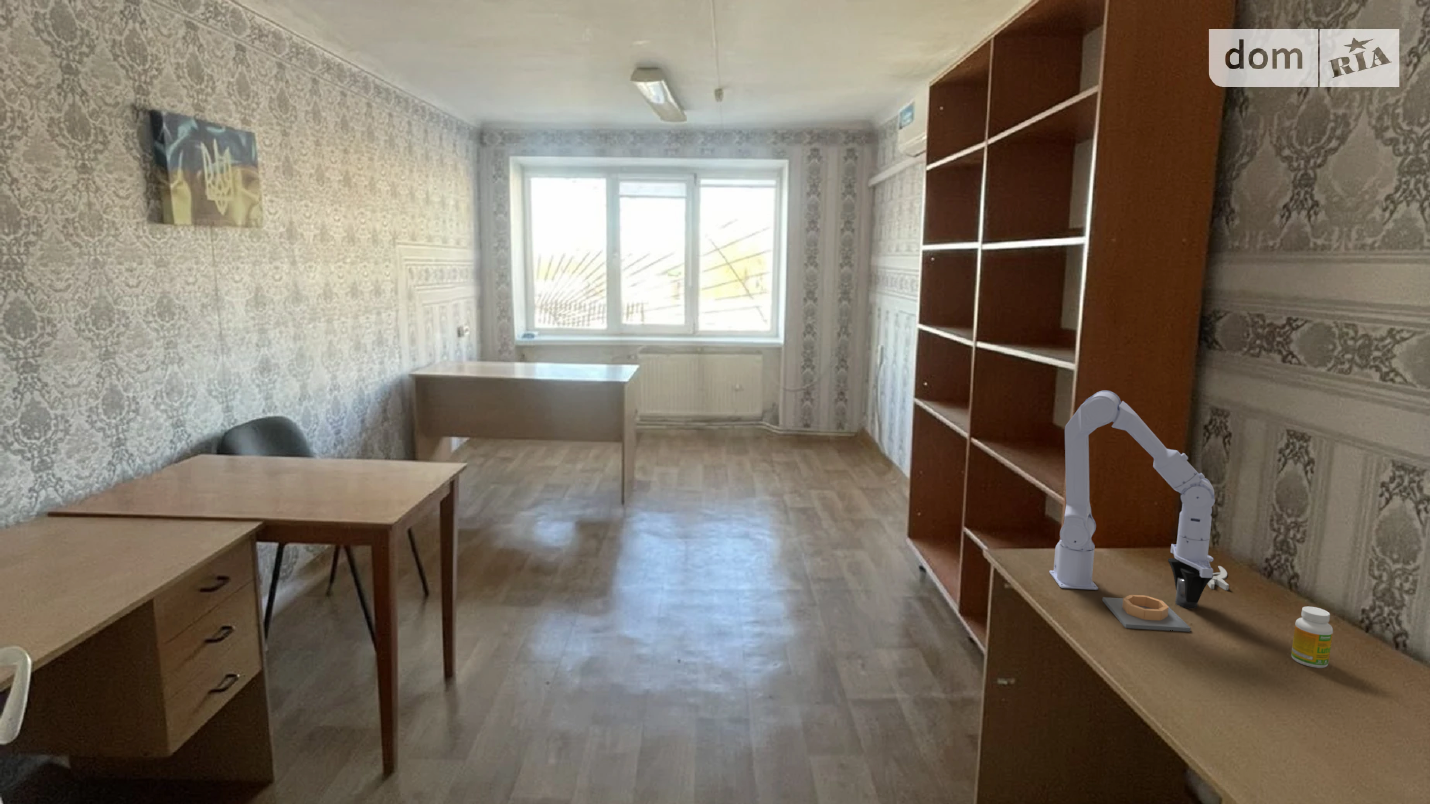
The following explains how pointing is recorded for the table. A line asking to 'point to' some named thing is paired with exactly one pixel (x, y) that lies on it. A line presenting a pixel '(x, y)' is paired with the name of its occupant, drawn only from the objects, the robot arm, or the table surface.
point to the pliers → (1219, 579)
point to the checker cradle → (1145, 613)
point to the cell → (1183, 595)
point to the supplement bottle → (1312, 638)
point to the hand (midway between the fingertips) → (1187, 597)
